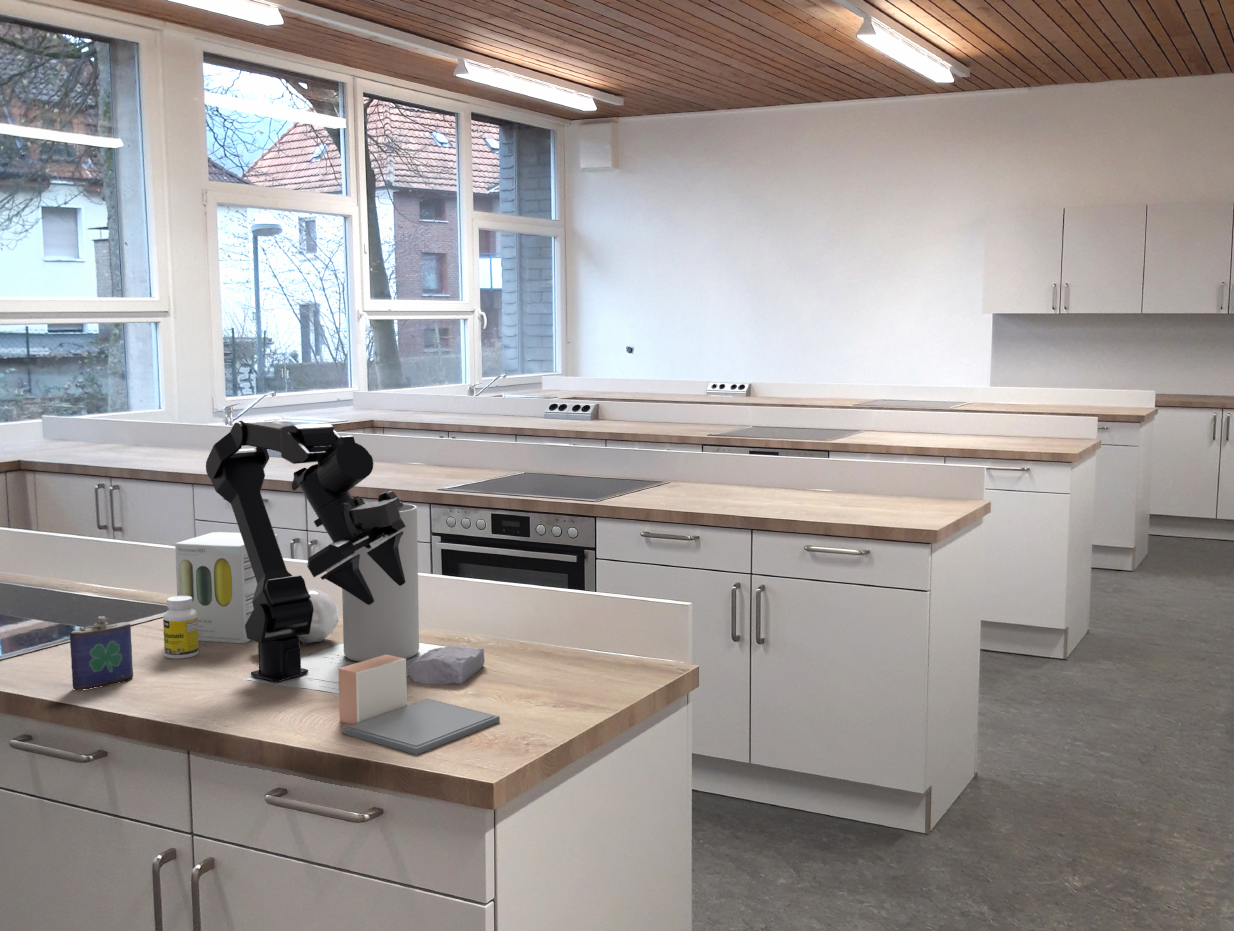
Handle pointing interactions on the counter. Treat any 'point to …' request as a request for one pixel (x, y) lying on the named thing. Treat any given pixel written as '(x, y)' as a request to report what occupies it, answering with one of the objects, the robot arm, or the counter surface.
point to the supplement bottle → (180, 628)
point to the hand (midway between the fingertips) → (387, 593)
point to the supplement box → (217, 584)
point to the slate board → (421, 726)
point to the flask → (101, 654)
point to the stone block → (447, 665)
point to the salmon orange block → (372, 688)
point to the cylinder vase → (385, 603)
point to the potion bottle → (321, 617)
